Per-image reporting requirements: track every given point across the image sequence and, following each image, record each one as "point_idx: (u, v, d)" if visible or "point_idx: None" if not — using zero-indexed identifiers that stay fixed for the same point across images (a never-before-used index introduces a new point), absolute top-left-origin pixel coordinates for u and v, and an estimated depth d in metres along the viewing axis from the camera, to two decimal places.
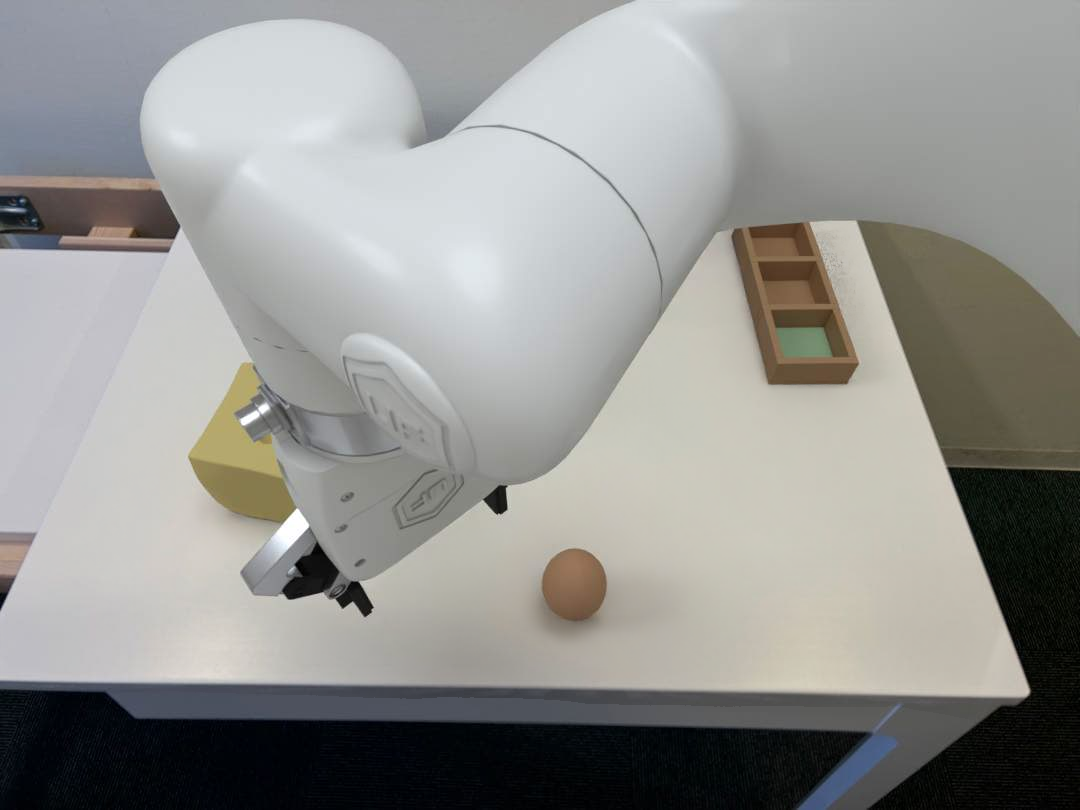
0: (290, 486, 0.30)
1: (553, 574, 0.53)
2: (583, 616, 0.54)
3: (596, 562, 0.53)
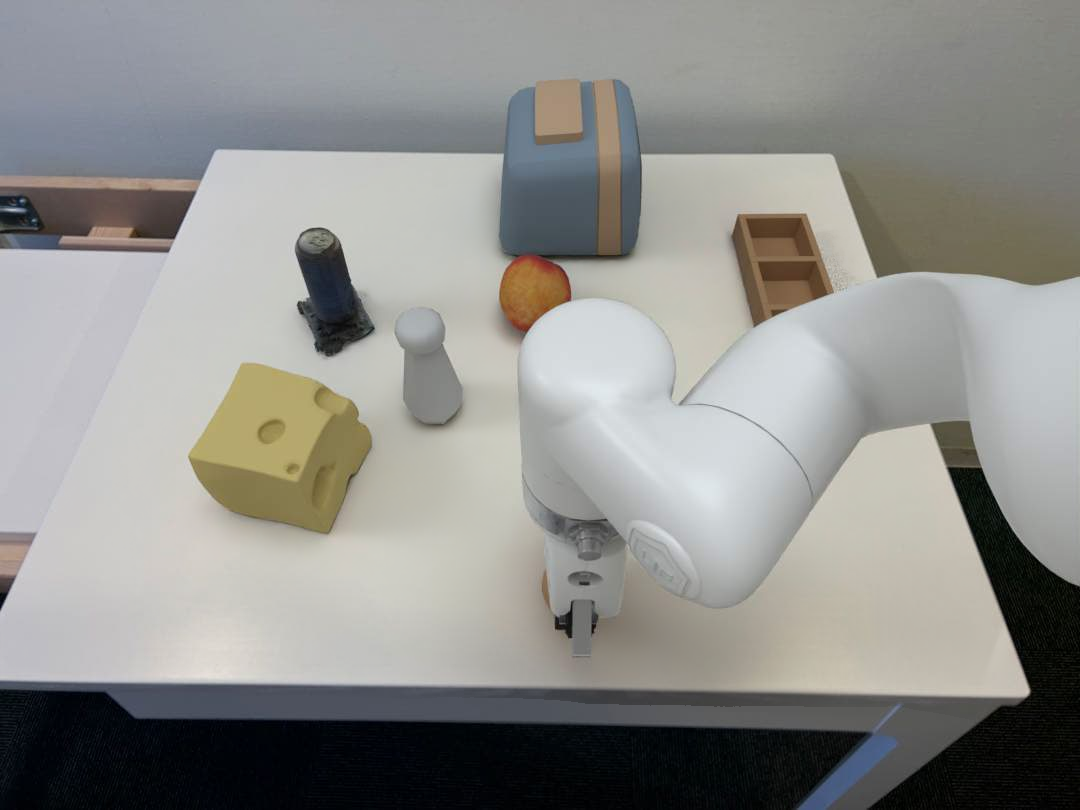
0: (578, 585, 0.43)
1: None
2: None
3: None
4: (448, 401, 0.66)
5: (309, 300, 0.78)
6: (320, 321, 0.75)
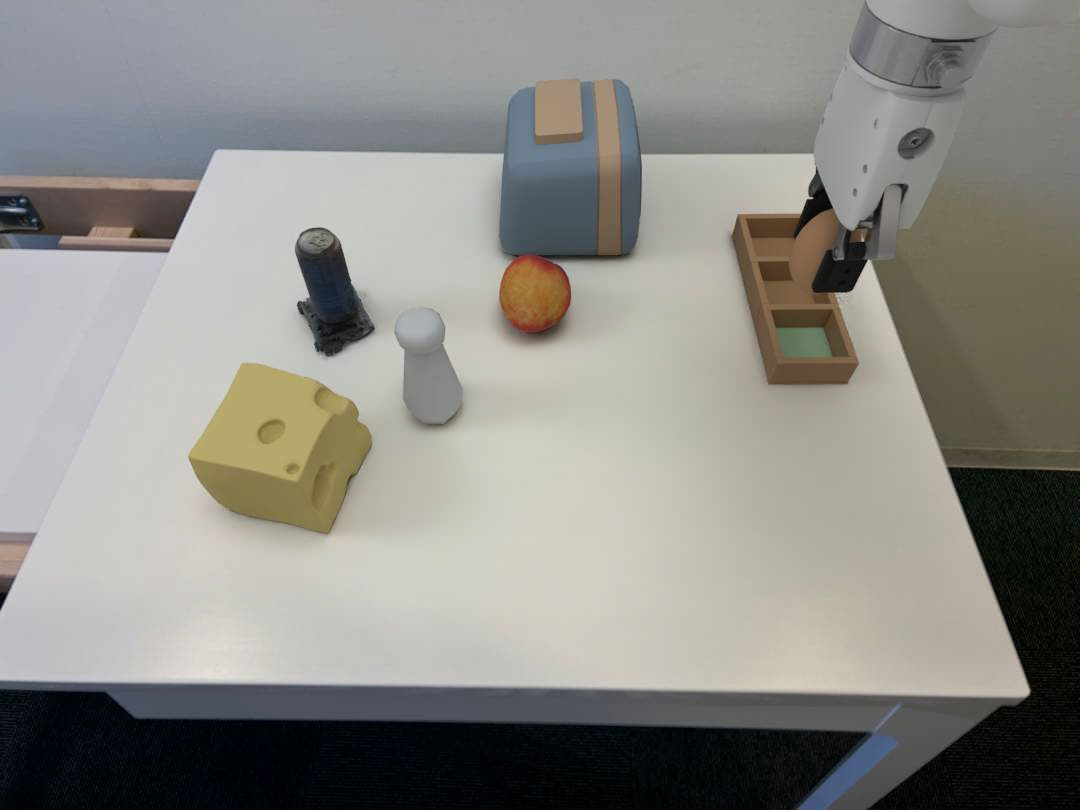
0: (903, 158, 0.44)
1: (816, 228, 0.54)
2: None
3: None
4: (448, 401, 0.66)
5: (309, 300, 0.78)
6: (320, 321, 0.75)
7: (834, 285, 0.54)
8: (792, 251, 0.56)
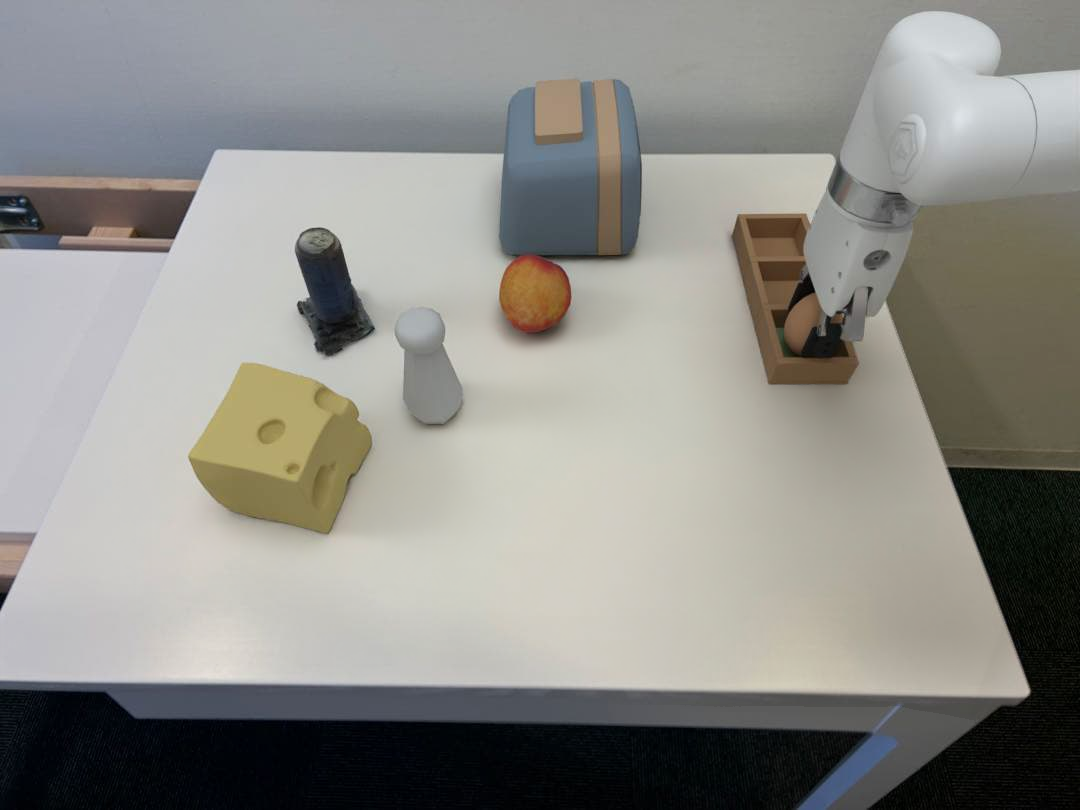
0: (867, 269, 0.58)
1: (804, 308, 0.68)
2: None
3: None
4: (448, 401, 0.66)
5: (309, 300, 0.78)
6: (320, 321, 0.75)
7: (818, 353, 0.68)
8: (786, 323, 0.70)
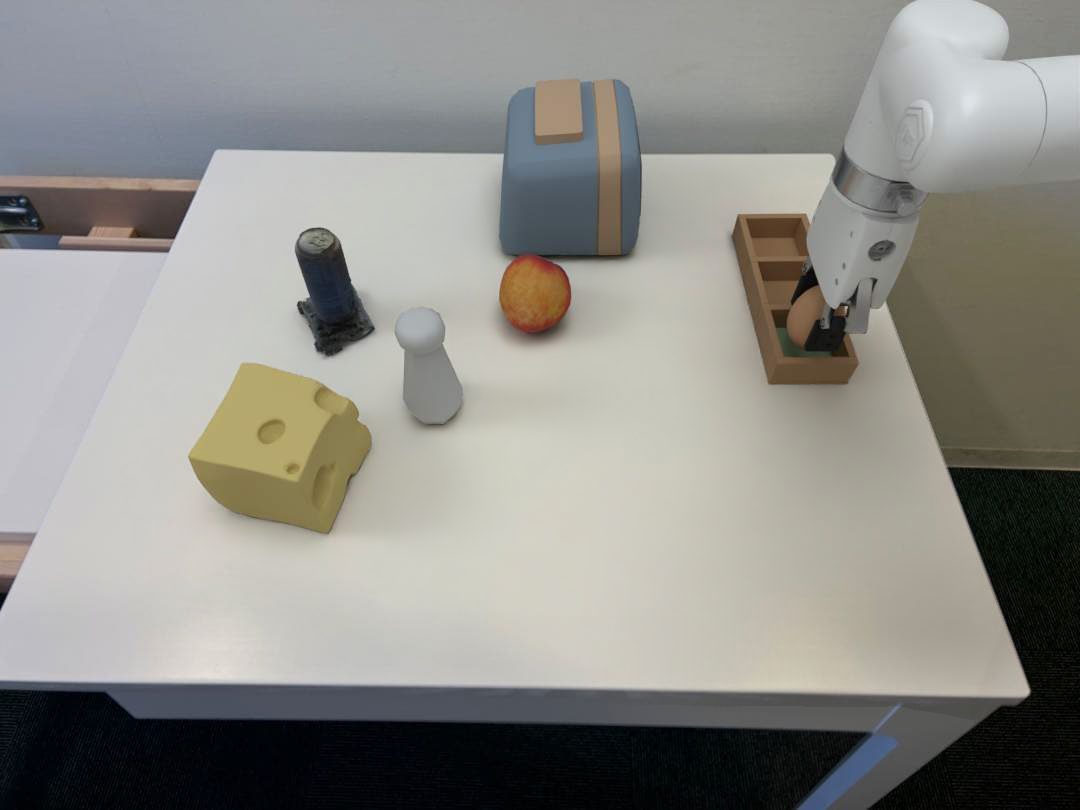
0: (872, 260, 0.57)
1: (808, 301, 0.67)
2: None
3: None
4: (448, 401, 0.66)
5: (309, 300, 0.78)
6: (320, 321, 0.75)
7: (822, 346, 0.67)
8: (789, 316, 0.70)
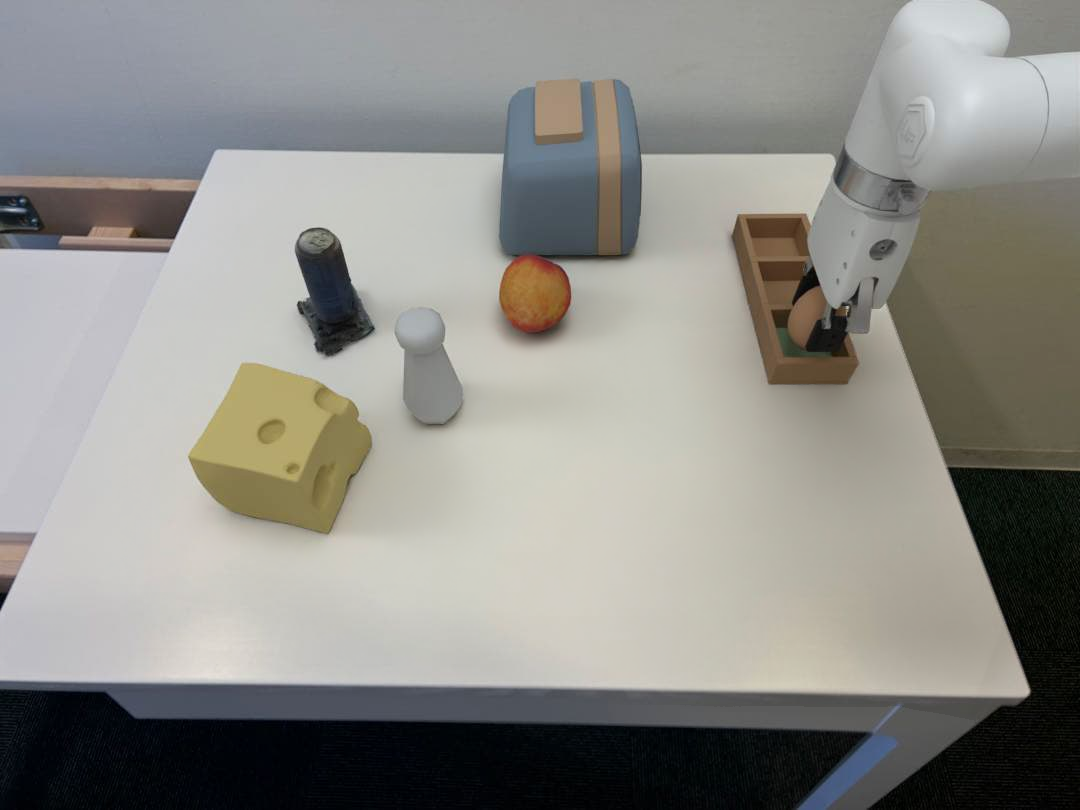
0: (873, 259, 0.57)
1: (809, 301, 0.67)
2: None
3: None
4: (448, 401, 0.66)
5: (309, 300, 0.78)
6: (320, 321, 0.75)
7: (823, 347, 0.67)
8: (790, 317, 0.69)
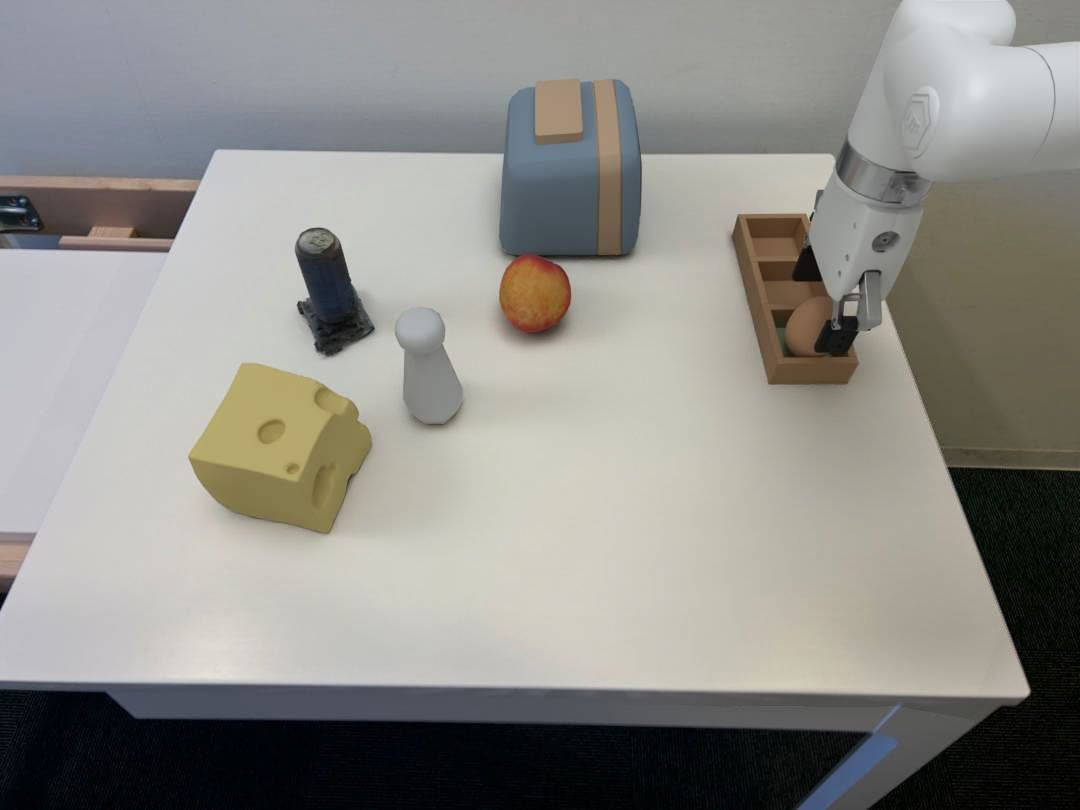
0: (876, 252, 0.56)
1: (805, 312, 0.68)
2: None
3: None
4: (448, 401, 0.66)
5: (309, 300, 0.78)
6: (320, 321, 0.75)
7: (832, 348, 0.64)
8: (787, 327, 0.70)
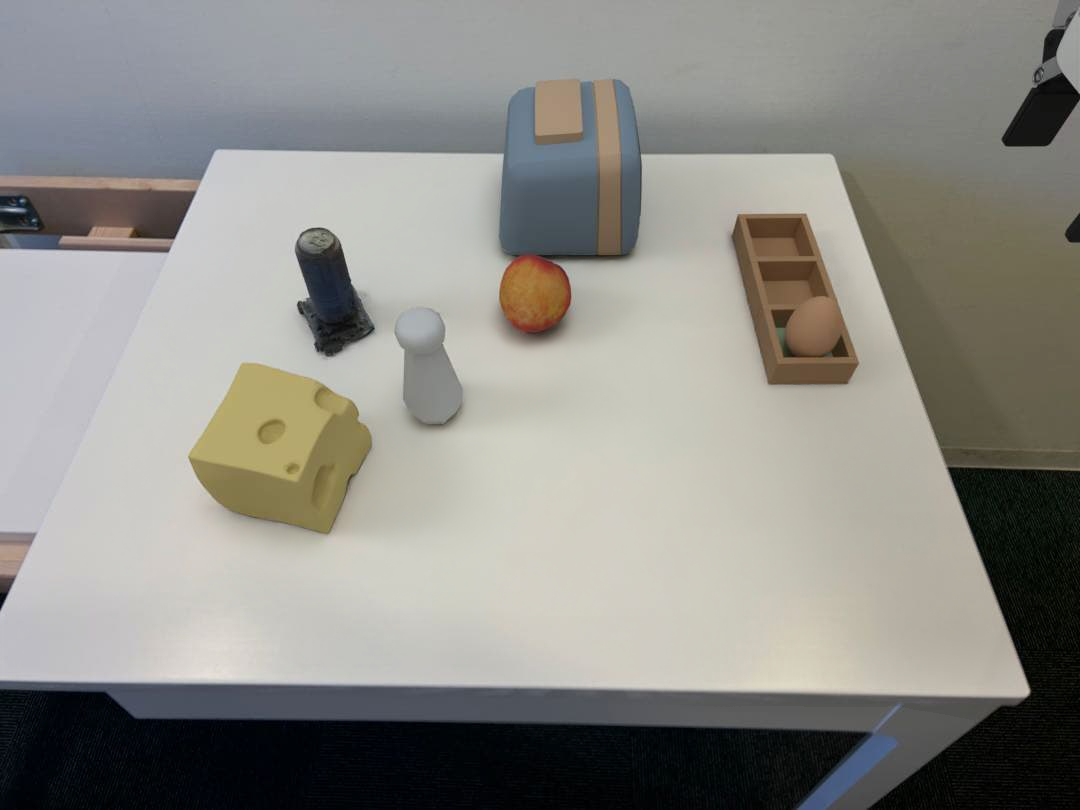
0: None
1: (805, 312, 0.68)
2: (824, 350, 0.69)
3: None
4: (448, 401, 0.66)
5: (309, 300, 0.78)
6: (320, 321, 0.75)
7: None
8: (787, 327, 0.70)
